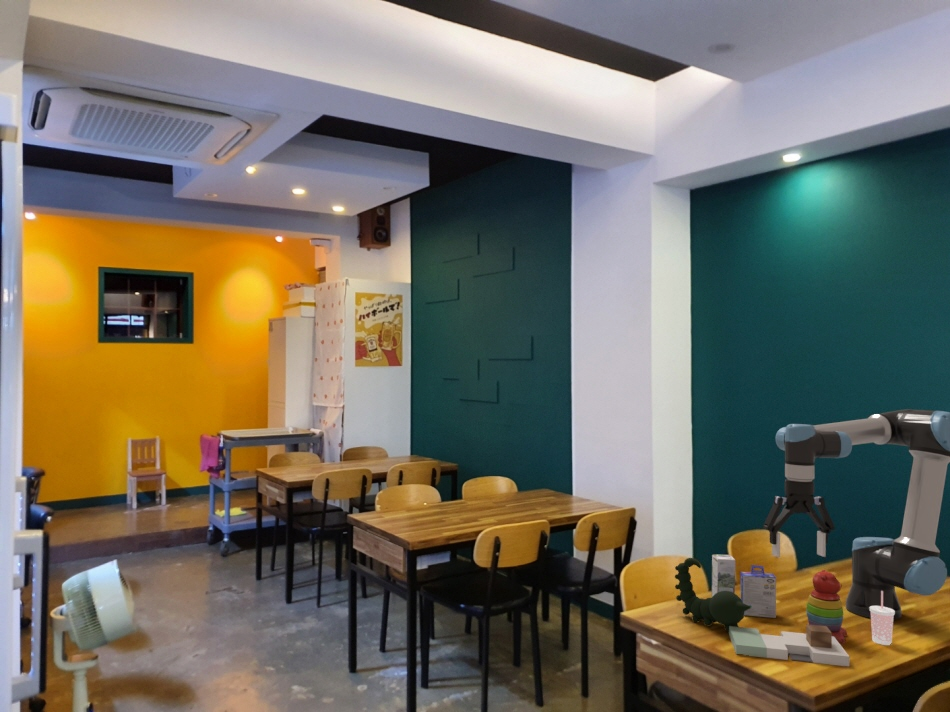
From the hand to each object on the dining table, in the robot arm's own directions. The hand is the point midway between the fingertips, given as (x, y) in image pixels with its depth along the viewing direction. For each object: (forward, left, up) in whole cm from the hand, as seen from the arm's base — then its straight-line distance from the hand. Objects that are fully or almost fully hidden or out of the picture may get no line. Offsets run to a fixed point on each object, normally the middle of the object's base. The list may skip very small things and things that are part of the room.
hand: (798, 555), depth 193 cm
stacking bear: (-9, -6, -23) cm, 25 cm away
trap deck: (+5, +9, -23) cm, 25 cm away
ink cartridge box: (+7, -19, -23) cm, 31 cm away
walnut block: (-3, +9, -20) cm, 23 cm away
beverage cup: (-23, -5, -23) cm, 33 cm away
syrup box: (+16, -29, -23) cm, 40 cm away
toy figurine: (+22, -5, -23) cm, 33 cm away
